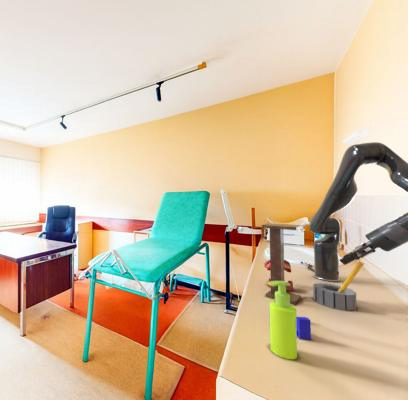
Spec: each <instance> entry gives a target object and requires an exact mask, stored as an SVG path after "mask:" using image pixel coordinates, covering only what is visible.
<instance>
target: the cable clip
mask: <svg viewBox="0 0 408 400" xmlns="http://www.w3.org/2000/svg"><path fill="white" fill-rule="evenodd" d="M311 324H312V323H311V319H310V318H309V317H306V316H296V328H297V338H299V339H301V340H312V327H311V326H312V325H311Z"/></svg>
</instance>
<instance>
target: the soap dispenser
mask: <svg viewBox="0 0 408 400" xmlns="http://www.w3.org/2000/svg"><path fill="white" fill-rule="evenodd" d="M287 282H288V281H285V280H284V281H271V282H267V281H266V285H267V284H268V285H270V286H273V287H274V286H278V291H276V292H275V299H274V301H270V302H269V343H270V344H269V348H270V351H271V352H272V353H274V354H275V355H277V356H278V357H280V358H283V359H285V360H296V359H297V358H298V337H297V328H296V317H297V308H296V307H295V305H293V304H290V295H289V294H288V293H286V285H289V283H287Z"/></svg>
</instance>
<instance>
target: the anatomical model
mask: <svg viewBox="0 0 408 400" xmlns="http://www.w3.org/2000/svg"><path fill="white" fill-rule="evenodd" d="M263 264H264V268H265V269H266V271H269V272H270V259H268V260H266V261H265V262H264V263H263ZM284 272H287V273H290V274H291V273H292V267H291V263H290V262H289V261H288V260H286V259H284ZM267 282H271V277H270V278H268V280H267V281H266V286H267V287H269V288H270V289H271V286H270V285H268V284H267ZM286 282H287V283H289V285H286V292H290V293H293V291H294V282H293V281H292V280H287V281H286Z"/></svg>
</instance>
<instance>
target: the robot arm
mask: <svg viewBox="0 0 408 400" xmlns="http://www.w3.org/2000/svg"><path fill="white" fill-rule="evenodd" d="M367 165H376V166H379V167H381V168H383V169H385V170H386V171H387V173H388V176H389V179H390V181H391V182H392V183H393V184H394V185H395V186H396V187H398V188H399V189H400V190H402V191H404V192H405V193H407V194H408V162H407V161H405V160H404V159H403V158H402V157H401V156H400V155H398V154H397V153H396V152H395V151H394V150H392V149H391V148H390V147H388V146H387V145H386V144H384V143H382V142H377V141H373V142H363V143H356V144H352V145H350V146H349V147H348V148H346V150H345V151H344V154H343V156H342V158H341V161H340V164H339V167H338V169H337V172H336V174H335V176H334V179H333V180H332V182H331V184H330V186H329V188H328V190H327V191H326V193H325V195H324V198H323V200H322V202H321V203H320V205H319V207H318V209H317V210H316V211H315V212H314V214H313V216H312V217H311V218H310V220H309V223H308V228H309V231H310V232H311V233H312V234H315V235H324V236H323V237H321V238H319V239H315V240H314V241H313V260H314V261H313V262H314V264H313V265H314V266H313V265H312V264H311V263H309V264H307V265H308V266H307V268H308V269H309V270H310V271H312V272H314V275H313V276H314V278H316V279H318V280H320V281H321V280H322V281H326V282H333V283H335V282H336V283H337V282H340V263H341V264H343V265H345V266H346V265H348V264H350V263H352V262H354V261H359V260H360V259H363V258H365V257H367V256H369V255H372V254H374V253H376V251H377V250H376V249H381V250H382V251H385V252H391V251H393V250H395V249H397V248H399V247H401V246H402V245H405V244H407V243H408V211H407V212H405V213H404V214H402V215H400V216H398V217H396V218H394V219H393V220H391V221H389V222H386V223H384V224H382V225H381V226H379V227H376V228H375V229H373V230H372V231H370V232H368V233H366V234H365V235H364V236H365V238H366V240H368V241H367V242H366V241H364V242H362V243H360V244H358V246H356V247H355V248H354V249H352V251H350V252H348V253H346V254H345V255H343V257H341V258H340V259H339V245H340V242H341V223H340V221H339V219H337V218H336V217H334V216H333V217H332V215H334V214H336V213H338V212H339V211H341V210H343V209H344V208H346V207H347V206H349V205H350V204H351V203H352V201H353V200H354V199H355V197H356V195H357V193H358V185H357V182H356V180H355V175H356V173H357V171H358V170H359V169H360V167H361V166H367ZM300 264H304V263H303V262H302V261H300ZM310 264H311V265H310ZM311 267H314V268H311Z"/></svg>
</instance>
